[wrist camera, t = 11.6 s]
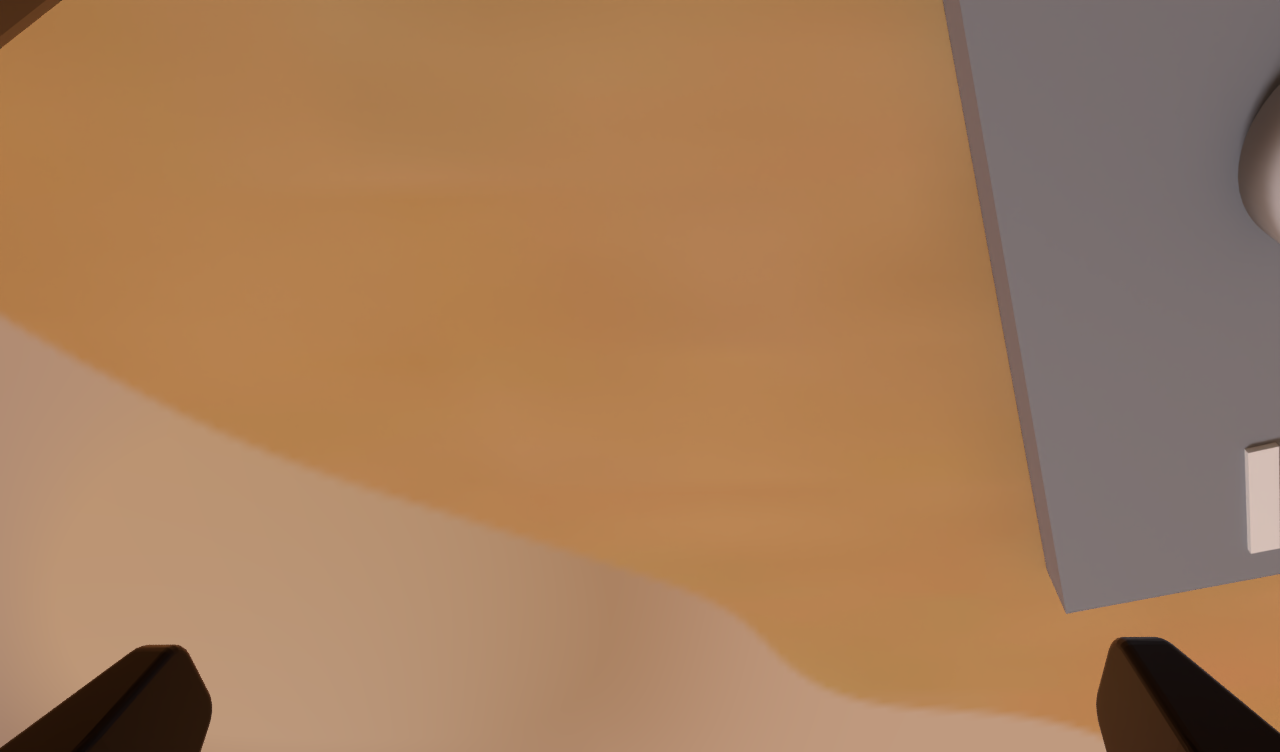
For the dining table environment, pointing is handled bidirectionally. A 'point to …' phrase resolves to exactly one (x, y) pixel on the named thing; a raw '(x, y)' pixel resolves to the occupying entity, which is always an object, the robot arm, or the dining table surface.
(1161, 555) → the tuner dial board
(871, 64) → the dining table surface
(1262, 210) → the tuning peg
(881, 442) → the dining table surface
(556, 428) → the dining table surface
